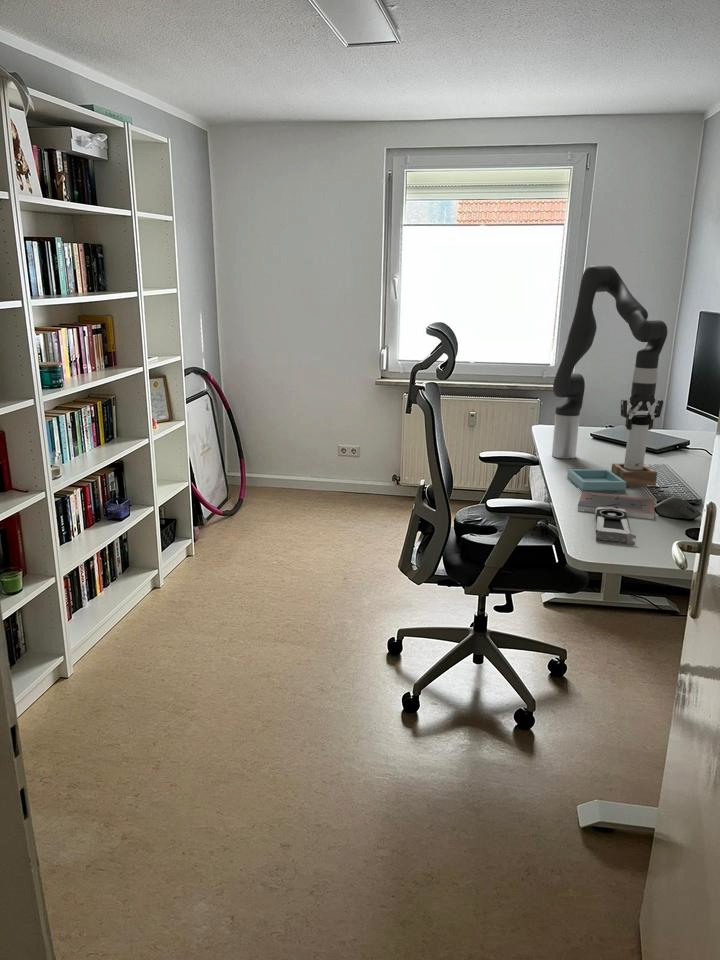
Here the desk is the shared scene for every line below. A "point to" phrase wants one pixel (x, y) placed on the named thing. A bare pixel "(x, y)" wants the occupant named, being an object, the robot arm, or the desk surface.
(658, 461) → the desk surface
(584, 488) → the tray
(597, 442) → the desk surface
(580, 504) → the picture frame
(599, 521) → the graphics card
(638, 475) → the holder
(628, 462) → the travel mug
